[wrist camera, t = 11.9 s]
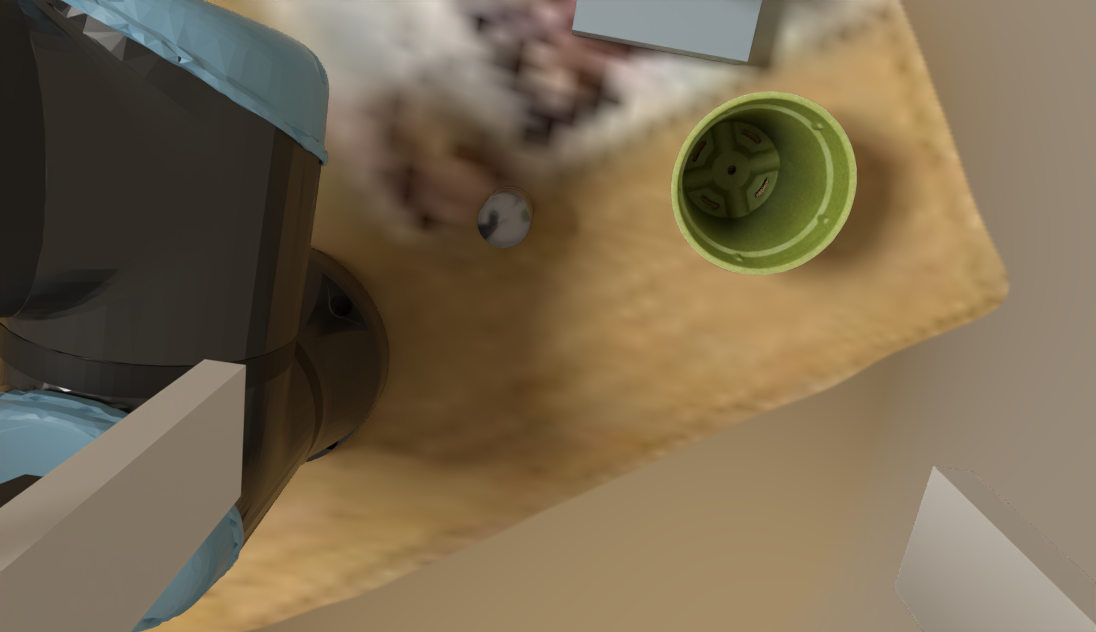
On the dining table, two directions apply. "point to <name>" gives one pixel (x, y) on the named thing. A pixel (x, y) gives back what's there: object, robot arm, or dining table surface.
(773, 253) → the plant pot
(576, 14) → the square grey frame
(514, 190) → the short pin
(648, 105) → the dining table surface
